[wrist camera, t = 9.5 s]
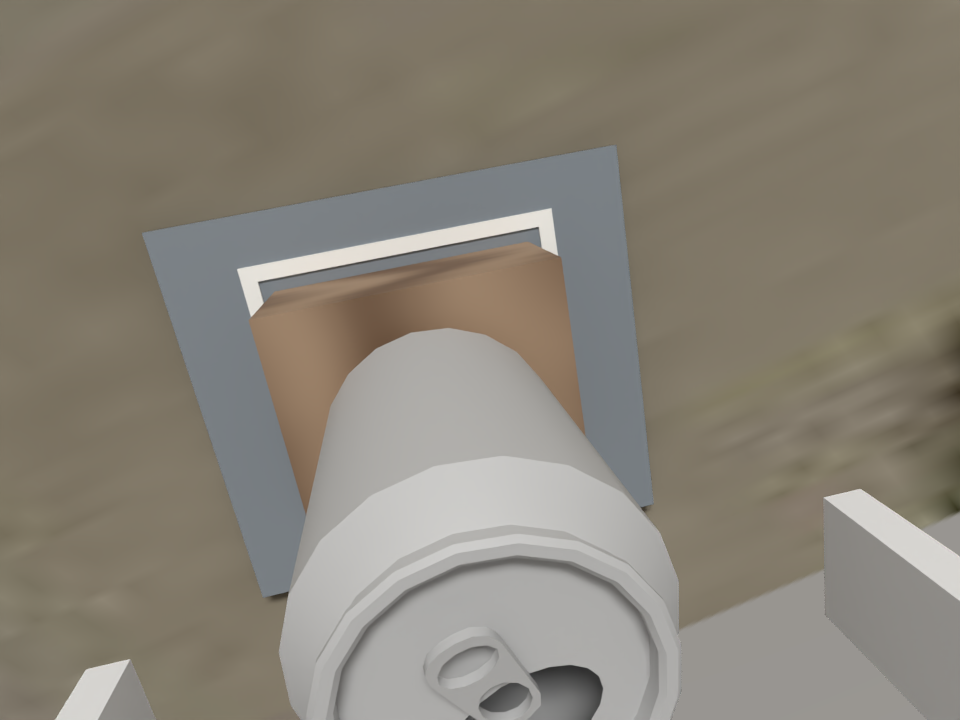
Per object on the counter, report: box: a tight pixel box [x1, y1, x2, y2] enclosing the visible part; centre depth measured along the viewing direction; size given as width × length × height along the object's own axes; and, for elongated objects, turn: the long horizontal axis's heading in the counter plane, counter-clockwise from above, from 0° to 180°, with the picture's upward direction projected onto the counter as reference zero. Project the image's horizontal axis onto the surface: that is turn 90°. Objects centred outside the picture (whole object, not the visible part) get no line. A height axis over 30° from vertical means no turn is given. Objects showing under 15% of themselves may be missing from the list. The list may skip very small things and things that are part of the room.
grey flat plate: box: [142, 145, 654, 598], centre depth 27 cm, size 18×16×1 cm
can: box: [279, 328, 682, 720], centre depth 16 cm, size 8×8×12 cm
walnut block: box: [249, 242, 586, 514], centre depth 24 cm, size 10×10×5 cm
